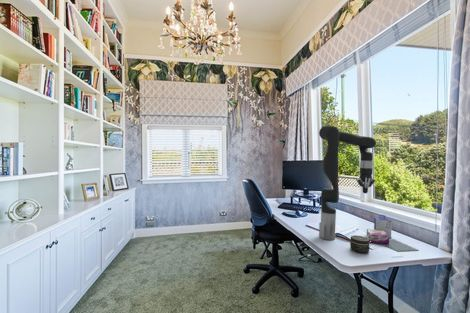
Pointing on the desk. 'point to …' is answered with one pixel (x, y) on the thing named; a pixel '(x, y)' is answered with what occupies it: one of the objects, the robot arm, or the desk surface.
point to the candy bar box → (377, 236)
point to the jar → (359, 244)
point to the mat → (399, 246)
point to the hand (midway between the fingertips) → (365, 193)
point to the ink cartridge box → (383, 224)
